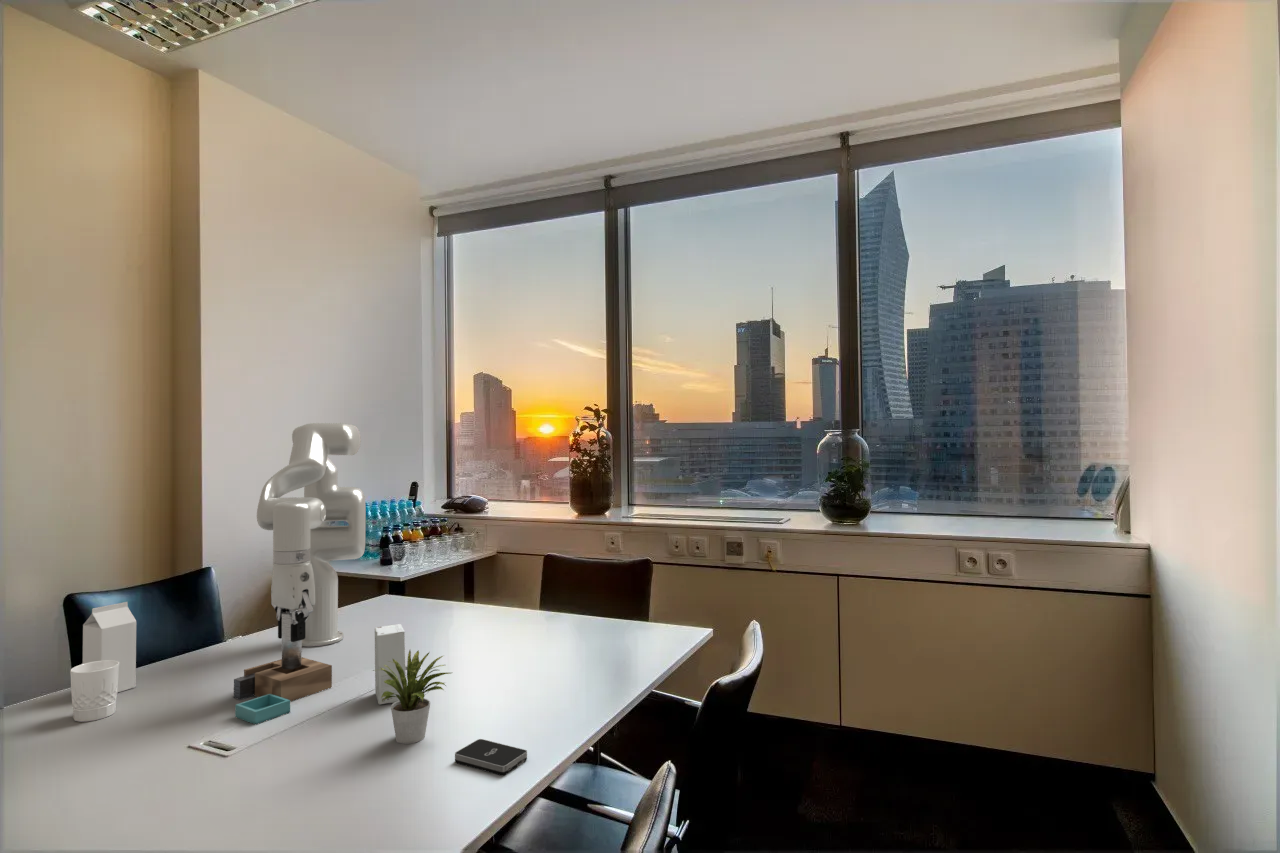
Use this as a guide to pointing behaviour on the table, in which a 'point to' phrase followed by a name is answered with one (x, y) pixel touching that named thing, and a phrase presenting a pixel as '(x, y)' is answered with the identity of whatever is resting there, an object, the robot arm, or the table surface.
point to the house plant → (411, 699)
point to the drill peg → (290, 644)
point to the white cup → (94, 690)
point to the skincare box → (388, 659)
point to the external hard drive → (491, 756)
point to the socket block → (291, 679)
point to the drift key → (244, 686)
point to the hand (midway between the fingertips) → (291, 637)
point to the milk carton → (112, 640)
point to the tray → (262, 708)
